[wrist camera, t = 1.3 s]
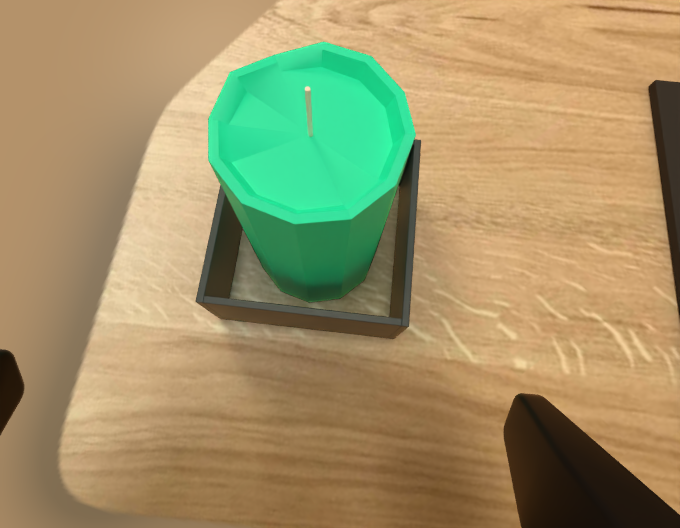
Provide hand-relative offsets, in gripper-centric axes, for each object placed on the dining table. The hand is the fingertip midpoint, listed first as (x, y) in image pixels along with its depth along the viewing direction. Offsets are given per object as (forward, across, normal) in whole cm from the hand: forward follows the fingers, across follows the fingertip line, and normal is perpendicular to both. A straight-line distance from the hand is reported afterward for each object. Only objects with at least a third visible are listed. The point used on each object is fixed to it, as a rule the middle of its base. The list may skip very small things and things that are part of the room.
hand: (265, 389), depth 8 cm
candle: (+14, 0, +4) cm, 15 cm away
